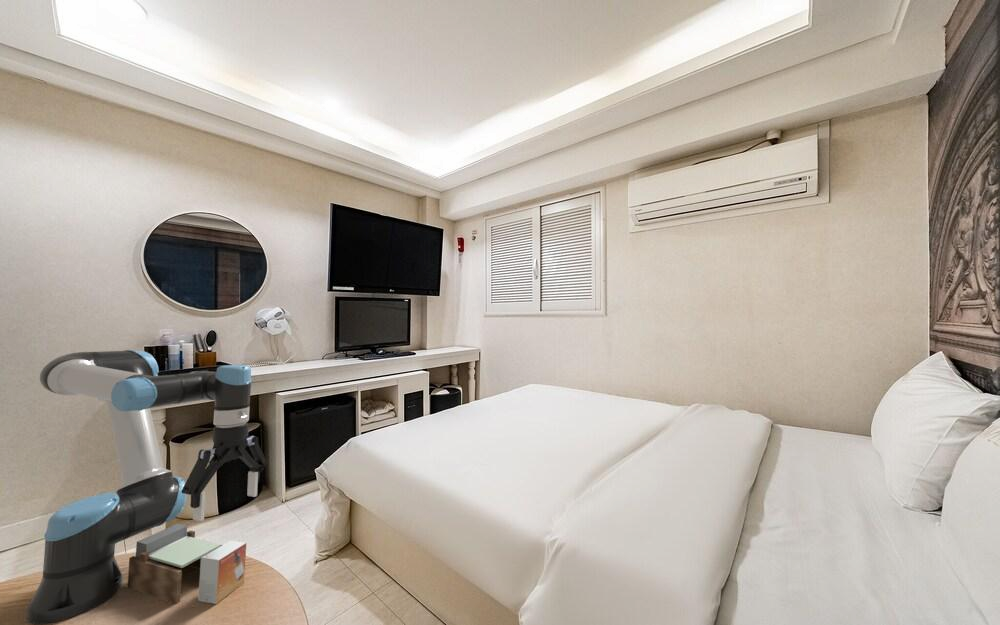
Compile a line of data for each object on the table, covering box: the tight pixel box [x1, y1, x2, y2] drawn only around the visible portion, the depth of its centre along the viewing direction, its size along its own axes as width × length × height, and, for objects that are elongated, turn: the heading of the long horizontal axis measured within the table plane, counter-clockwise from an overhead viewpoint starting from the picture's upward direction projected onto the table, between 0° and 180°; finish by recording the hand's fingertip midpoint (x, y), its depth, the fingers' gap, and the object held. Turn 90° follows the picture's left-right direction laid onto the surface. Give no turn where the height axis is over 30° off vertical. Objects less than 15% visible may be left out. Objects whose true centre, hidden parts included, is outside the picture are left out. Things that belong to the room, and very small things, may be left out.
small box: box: [197, 540, 247, 605], centre depth 92 cm, size 8×6×10 cm
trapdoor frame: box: [126, 530, 223, 604], centre depth 96 cm, size 19×12×9 cm, turn 73°
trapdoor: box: [135, 523, 222, 569], centre depth 96 cm, size 18×9×6 cm, turn 73°
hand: (227, 507), depth 93 cm, fingers open, 13 cm apart
